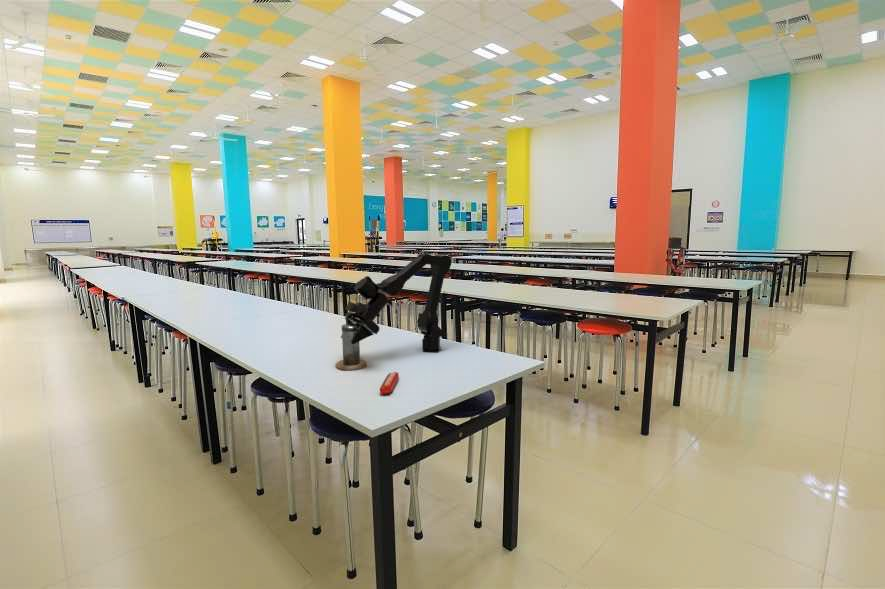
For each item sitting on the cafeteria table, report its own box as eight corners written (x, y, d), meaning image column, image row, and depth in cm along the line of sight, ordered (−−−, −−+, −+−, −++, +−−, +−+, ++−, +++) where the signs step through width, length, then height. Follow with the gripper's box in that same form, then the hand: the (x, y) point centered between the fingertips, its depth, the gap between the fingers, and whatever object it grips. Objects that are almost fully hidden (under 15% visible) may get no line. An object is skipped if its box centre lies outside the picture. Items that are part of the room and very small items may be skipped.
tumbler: (363, 361, 157) (362, 324, 154) (352, 366, 151) (351, 328, 149) (350, 359, 159) (349, 322, 157) (339, 364, 154) (337, 326, 152)
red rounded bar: (388, 378, 143) (388, 369, 142) (399, 378, 142) (399, 370, 142) (378, 397, 127) (378, 387, 126) (390, 397, 126) (390, 387, 126)
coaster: (370, 362, 160) (370, 359, 160) (360, 371, 149) (360, 368, 149) (343, 360, 162) (342, 358, 161) (330, 369, 151) (330, 367, 151)
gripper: (348, 290, 161) (321, 322, 157) (370, 296, 146) (341, 332, 142) (368, 308, 167) (342, 340, 162) (391, 316, 152) (363, 351, 147)
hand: (346, 340), depth 153 cm, fingers open, 9 cm apart
